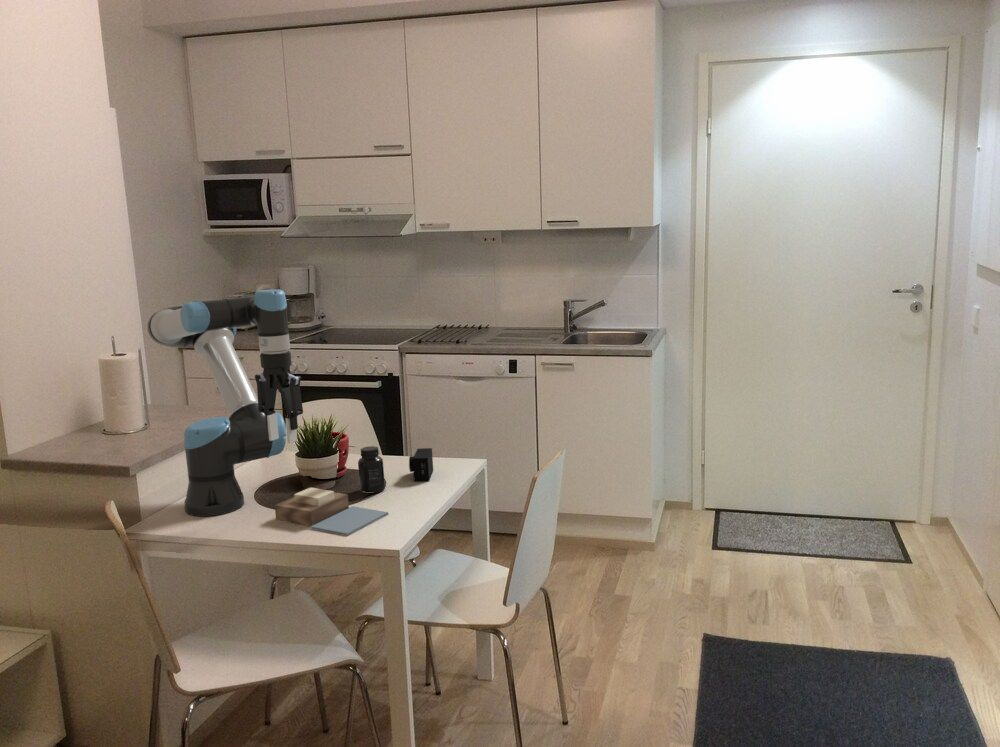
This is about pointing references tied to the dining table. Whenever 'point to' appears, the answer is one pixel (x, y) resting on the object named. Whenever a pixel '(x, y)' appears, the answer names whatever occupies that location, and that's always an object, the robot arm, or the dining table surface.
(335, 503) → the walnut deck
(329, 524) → the rubber mat
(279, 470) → the dining table surface
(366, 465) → the supplement bottle
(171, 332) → the robot arm
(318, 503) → the birch tile
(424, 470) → the digital camera
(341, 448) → the plant pot
